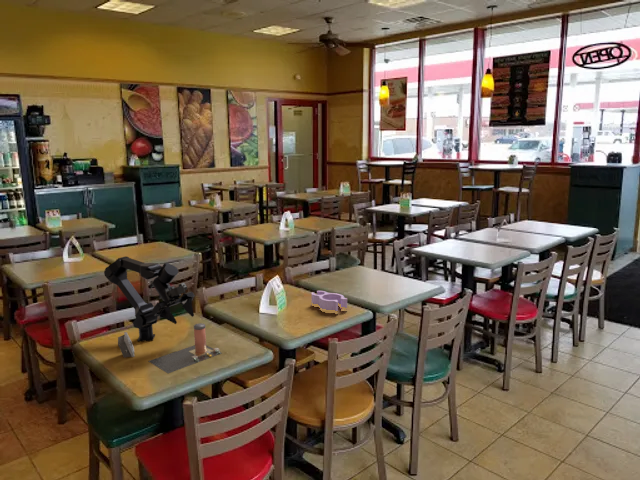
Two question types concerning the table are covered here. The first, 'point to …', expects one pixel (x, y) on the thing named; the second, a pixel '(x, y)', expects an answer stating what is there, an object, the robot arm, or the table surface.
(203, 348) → the post
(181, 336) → the table surface
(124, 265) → the robot arm
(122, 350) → the electrical switch
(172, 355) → the breaker panel
